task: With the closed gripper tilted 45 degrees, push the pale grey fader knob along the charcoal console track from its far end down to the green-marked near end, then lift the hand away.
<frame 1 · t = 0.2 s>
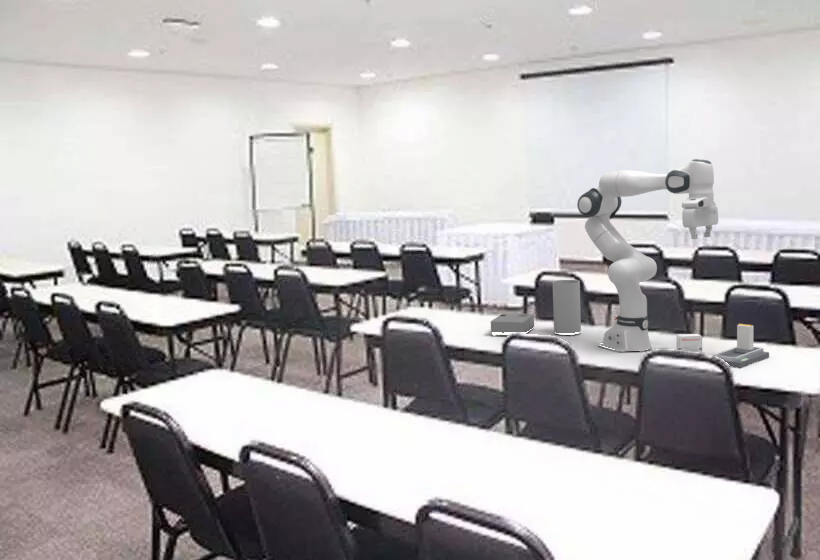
hand: (700, 238, 285), 48 cm above the table, tool pointing down, fingers open, 8 cm apart
ink box: (689, 365, 284), on the table
fader console: (738, 360, 287), on the table
cylinder vase: (567, 333, 353), on the table
projector: (513, 333, 362), on the table
fader knob: (745, 338, 289), point 8 cm above the table, slide at 5.0 cm
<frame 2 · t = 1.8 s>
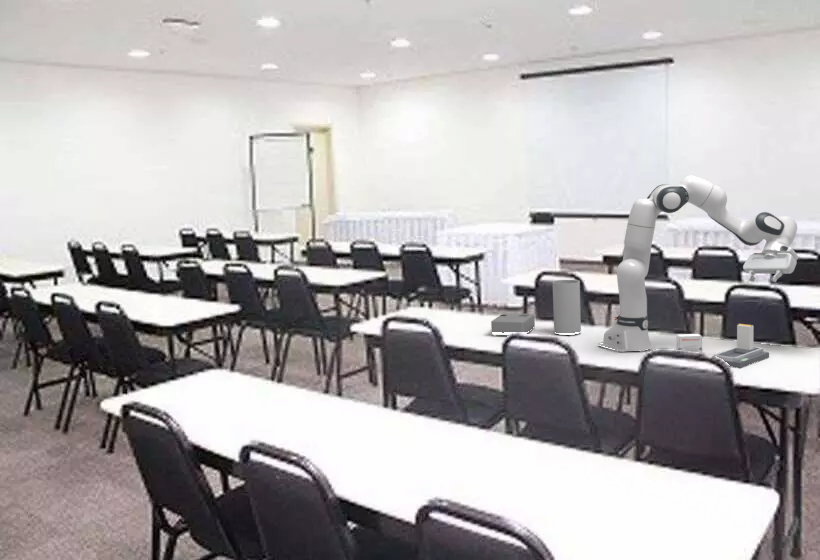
hand: (761, 280, 293), 29 cm above the table, tool tilted 40°, fingers open, 8 cm apart
nothing on the table moved.
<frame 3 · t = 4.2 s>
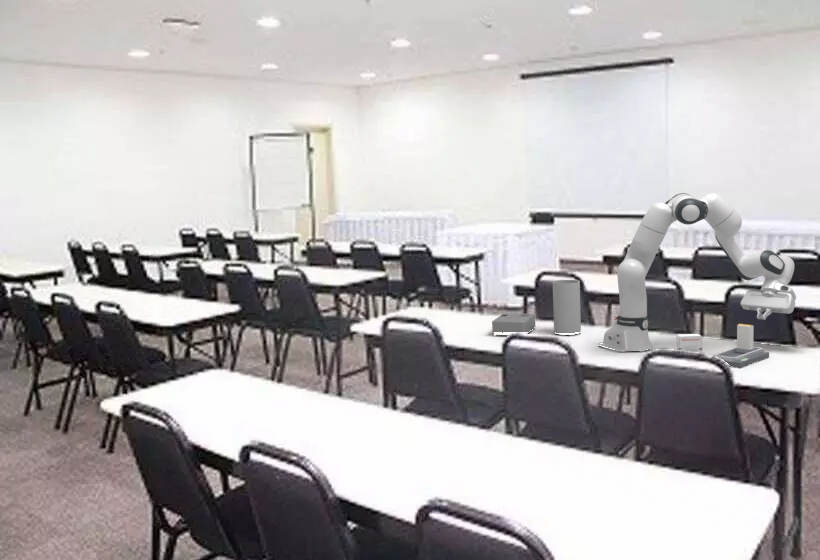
hand: (760, 318, 296), 14 cm above the table, tool tilted 45°, fingers closed
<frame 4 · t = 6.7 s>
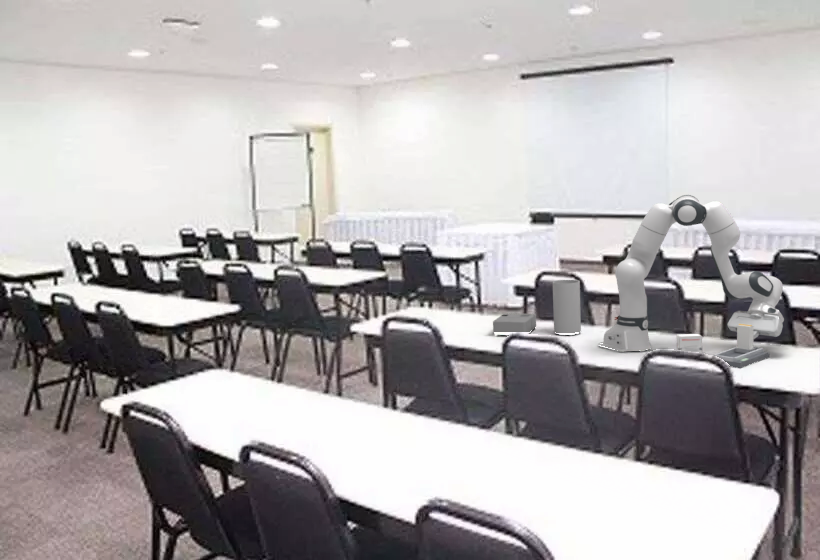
hand: (747, 341, 291), 6 cm above the table, tool tilted 45°, fingers closed, pressing on fader knob
fader knob: (745, 338, 289), point 8 cm above the table, slide at 5.0 cm, touching gripper
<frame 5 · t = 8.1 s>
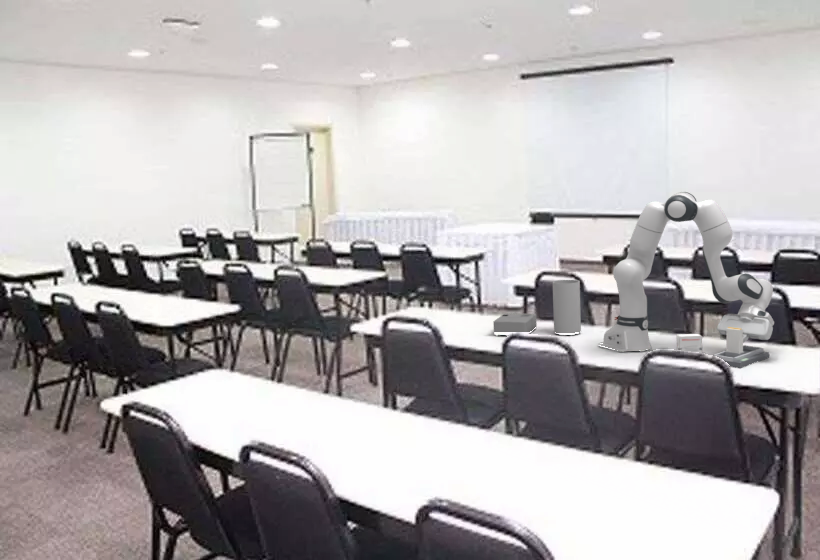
hand: (737, 344, 286), 6 cm above the table, tool tilted 45°, fingers closed, pressing on fader knob
fader knob: (734, 341, 285), point 8 cm above the table, slide at -3.0 cm, touching gripper
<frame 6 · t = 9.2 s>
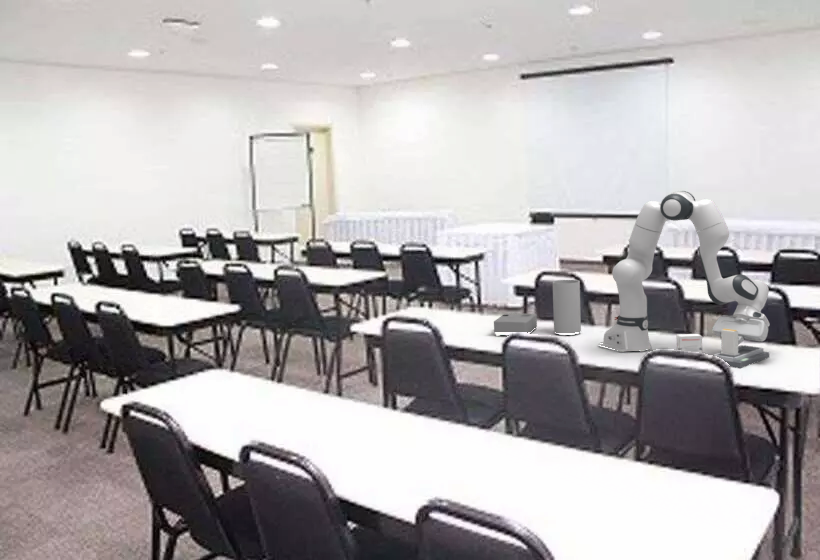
hand: (732, 346, 284), 6 cm above the table, tool tilted 45°, fingers closed, pressing on fader knob
fader knob: (729, 343, 282), point 8 cm above the table, slide at -6.6 cm, touching gripper
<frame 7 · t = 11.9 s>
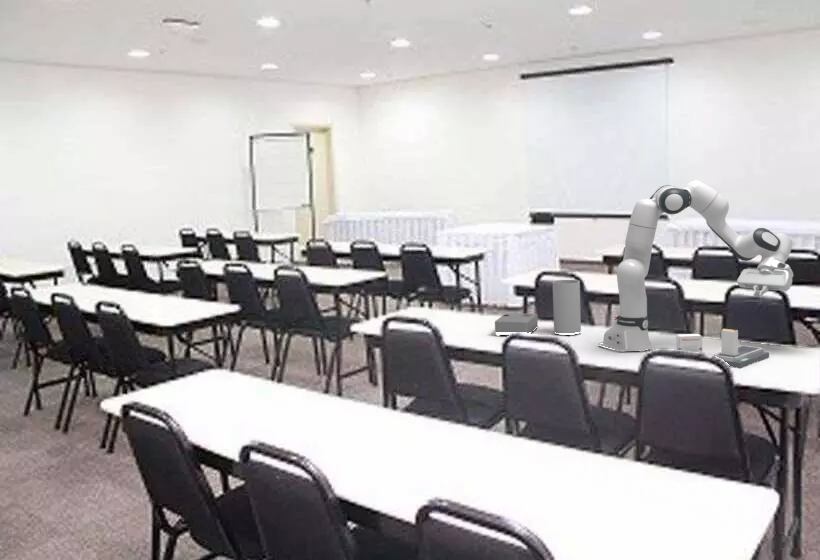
hand: (757, 296, 293), 23 cm above the table, tool tilted 45°, fingers closed
fader knob: (729, 343, 282), point 8 cm above the table, slide at -6.7 cm
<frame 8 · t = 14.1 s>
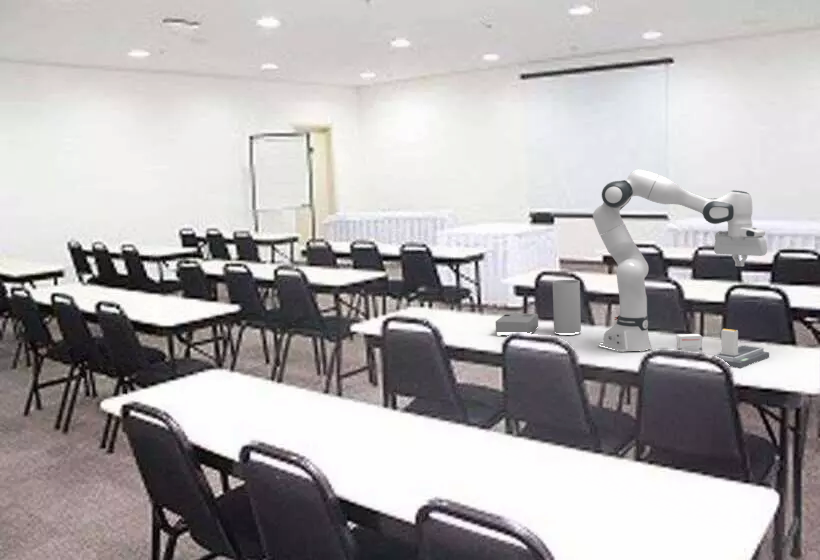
hand: (739, 266, 295), 35 cm above the table, tool pointing down, fingers closed
at the end: fader knob slide at -6.7 cm; ink box moved 0.3 cm from its start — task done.
